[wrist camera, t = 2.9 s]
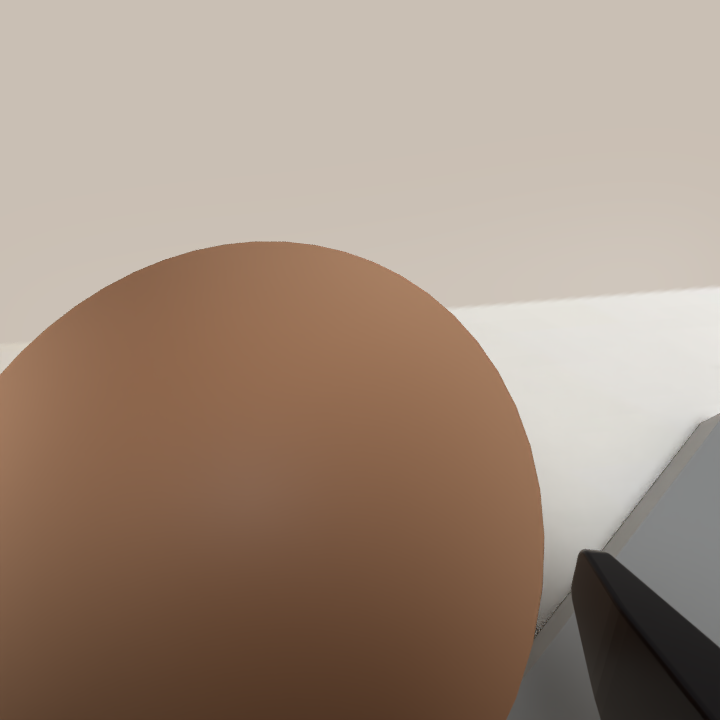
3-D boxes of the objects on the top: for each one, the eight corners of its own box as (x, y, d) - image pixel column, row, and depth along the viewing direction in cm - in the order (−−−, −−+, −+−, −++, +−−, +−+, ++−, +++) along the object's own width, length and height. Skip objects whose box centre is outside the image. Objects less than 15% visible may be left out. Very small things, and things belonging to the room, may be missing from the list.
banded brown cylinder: (360, 676, 13) (70, 1329, 2) (263, 550, 15) (-176, 483, 4) (465, 554, 15) (690, 490, 3) (364, 451, 17) (266, 171, 5)
